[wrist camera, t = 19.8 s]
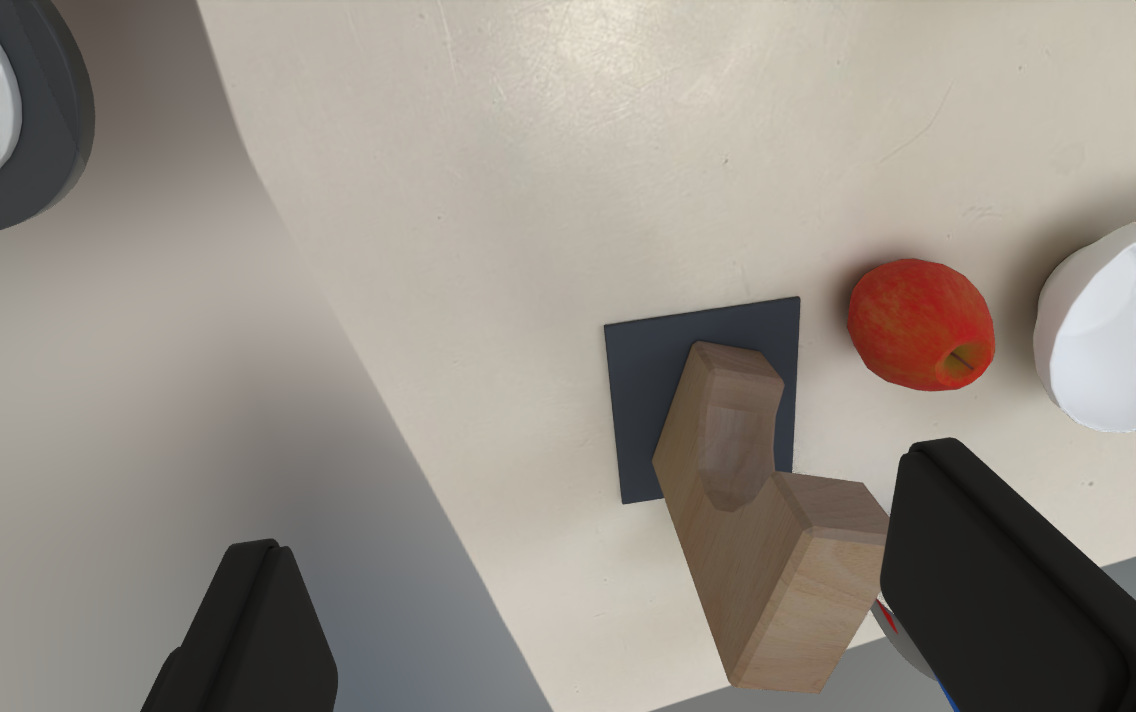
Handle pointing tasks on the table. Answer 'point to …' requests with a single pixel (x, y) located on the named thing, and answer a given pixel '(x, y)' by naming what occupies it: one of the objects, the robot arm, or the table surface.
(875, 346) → the apple
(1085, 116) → the table surface
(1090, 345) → the bowl
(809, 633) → the decorative block
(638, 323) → the mat
